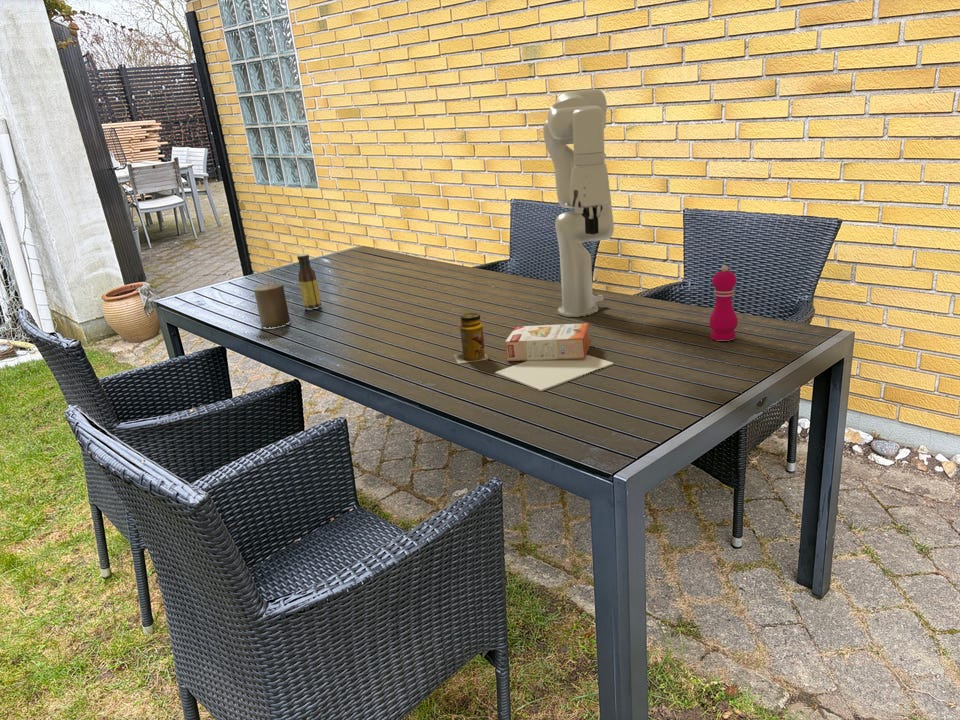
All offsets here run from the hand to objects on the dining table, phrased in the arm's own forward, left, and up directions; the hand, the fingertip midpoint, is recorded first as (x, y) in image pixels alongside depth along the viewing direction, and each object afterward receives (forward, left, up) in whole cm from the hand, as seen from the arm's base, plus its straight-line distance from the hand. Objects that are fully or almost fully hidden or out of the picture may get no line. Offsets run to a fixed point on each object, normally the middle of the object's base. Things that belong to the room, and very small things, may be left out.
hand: (591, 233), depth 188 cm
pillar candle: (+53, -100, -31) cm, 117 cm away
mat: (+19, +4, -31) cm, 36 cm away
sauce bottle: (+35, -110, -31) cm, 119 cm away
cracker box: (+5, +2, -27) cm, 28 cm away
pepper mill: (-26, +21, -31) cm, 46 cm away
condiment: (+28, -20, -31) cm, 46 cm away
